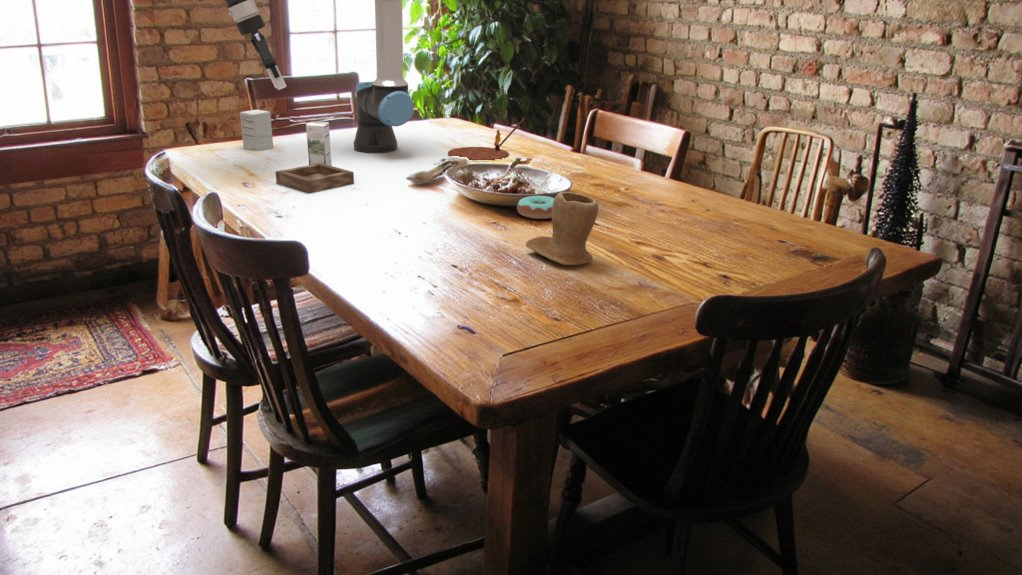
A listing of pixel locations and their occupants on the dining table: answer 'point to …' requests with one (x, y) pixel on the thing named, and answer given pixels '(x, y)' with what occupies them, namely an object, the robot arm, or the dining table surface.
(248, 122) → the supplement box
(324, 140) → the syrup box
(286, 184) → the walnut tray
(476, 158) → the incense holder
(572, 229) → the brown hollow piece
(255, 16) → the robot arm
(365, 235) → the dining table surface
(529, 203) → the donut
